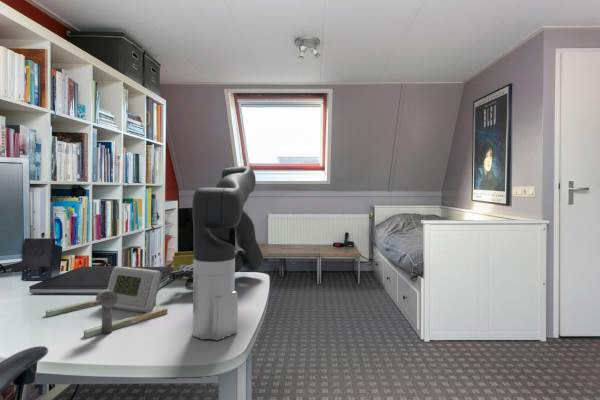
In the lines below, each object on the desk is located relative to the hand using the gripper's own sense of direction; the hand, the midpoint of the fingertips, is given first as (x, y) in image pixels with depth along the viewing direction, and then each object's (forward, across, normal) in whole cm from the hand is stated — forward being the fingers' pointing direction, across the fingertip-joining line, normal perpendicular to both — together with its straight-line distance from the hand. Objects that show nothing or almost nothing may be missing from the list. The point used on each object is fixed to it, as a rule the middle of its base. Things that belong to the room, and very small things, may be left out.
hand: (170, 276), depth 109 cm
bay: (+19, +1, +6) cm, 20 cm away
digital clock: (+12, 0, +7) cm, 14 cm away
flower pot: (-17, -16, +7) cm, 25 cm away
